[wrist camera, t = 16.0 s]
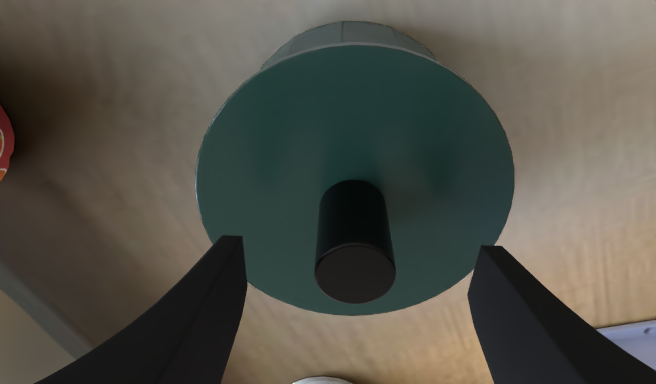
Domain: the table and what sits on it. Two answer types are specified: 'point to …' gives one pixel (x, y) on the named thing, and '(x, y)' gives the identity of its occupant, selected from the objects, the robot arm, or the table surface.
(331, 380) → the supplement can
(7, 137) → the smoothie
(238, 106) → the pot lid
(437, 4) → the table surface
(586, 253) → the table surface
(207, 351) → the robot arm
